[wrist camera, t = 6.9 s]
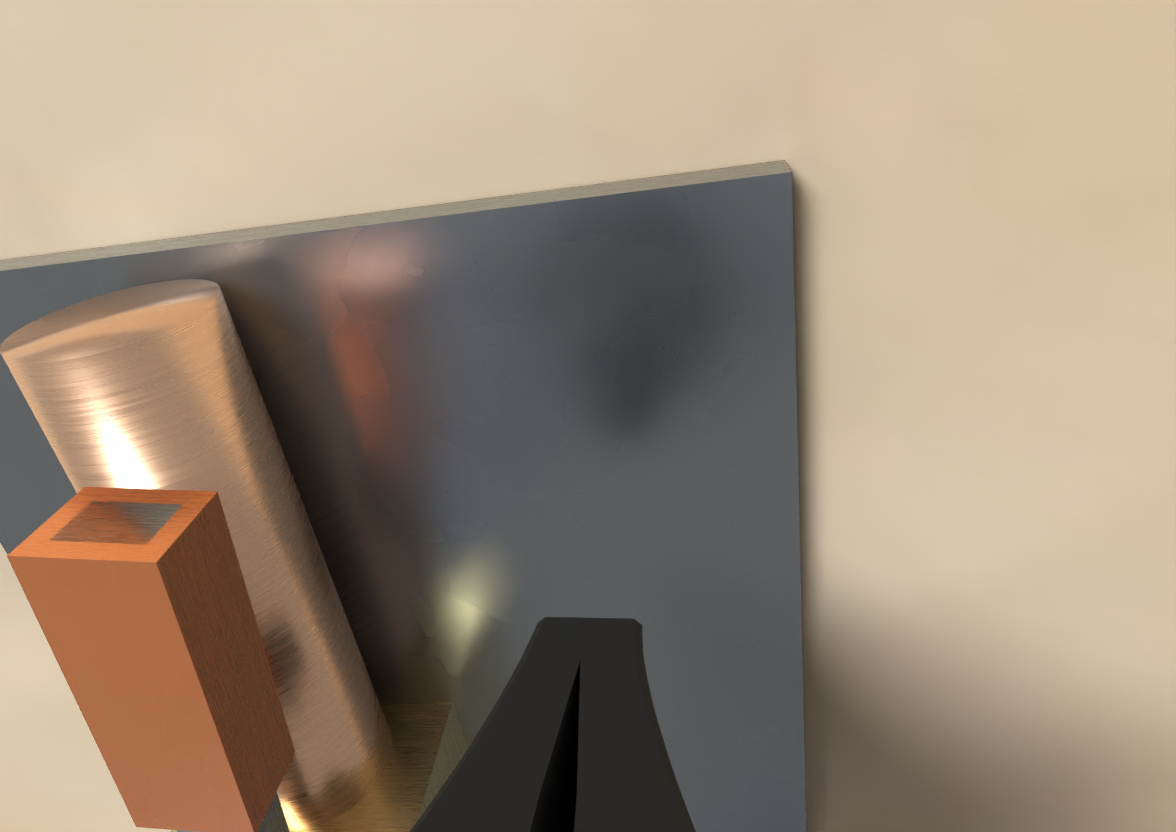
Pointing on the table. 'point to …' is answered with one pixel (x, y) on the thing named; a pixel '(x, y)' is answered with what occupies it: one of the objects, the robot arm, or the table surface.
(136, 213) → the table surface
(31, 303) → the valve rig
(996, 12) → the table surface
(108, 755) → the valve lever
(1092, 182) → the table surface
